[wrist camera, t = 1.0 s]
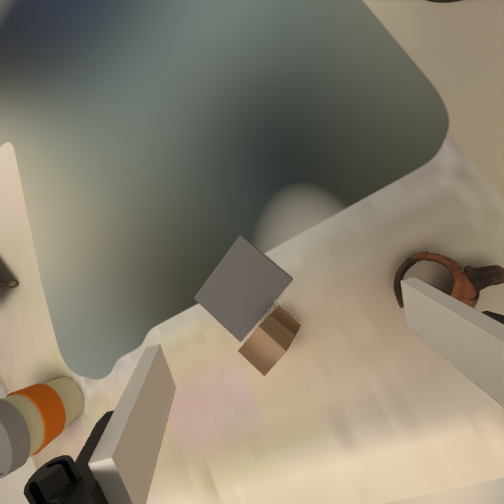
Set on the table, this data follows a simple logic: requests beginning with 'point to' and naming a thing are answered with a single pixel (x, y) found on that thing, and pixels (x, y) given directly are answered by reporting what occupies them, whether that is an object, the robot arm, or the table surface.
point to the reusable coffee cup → (35, 419)
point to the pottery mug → (455, 278)
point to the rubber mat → (242, 288)
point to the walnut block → (270, 340)
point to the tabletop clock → (9, 284)
